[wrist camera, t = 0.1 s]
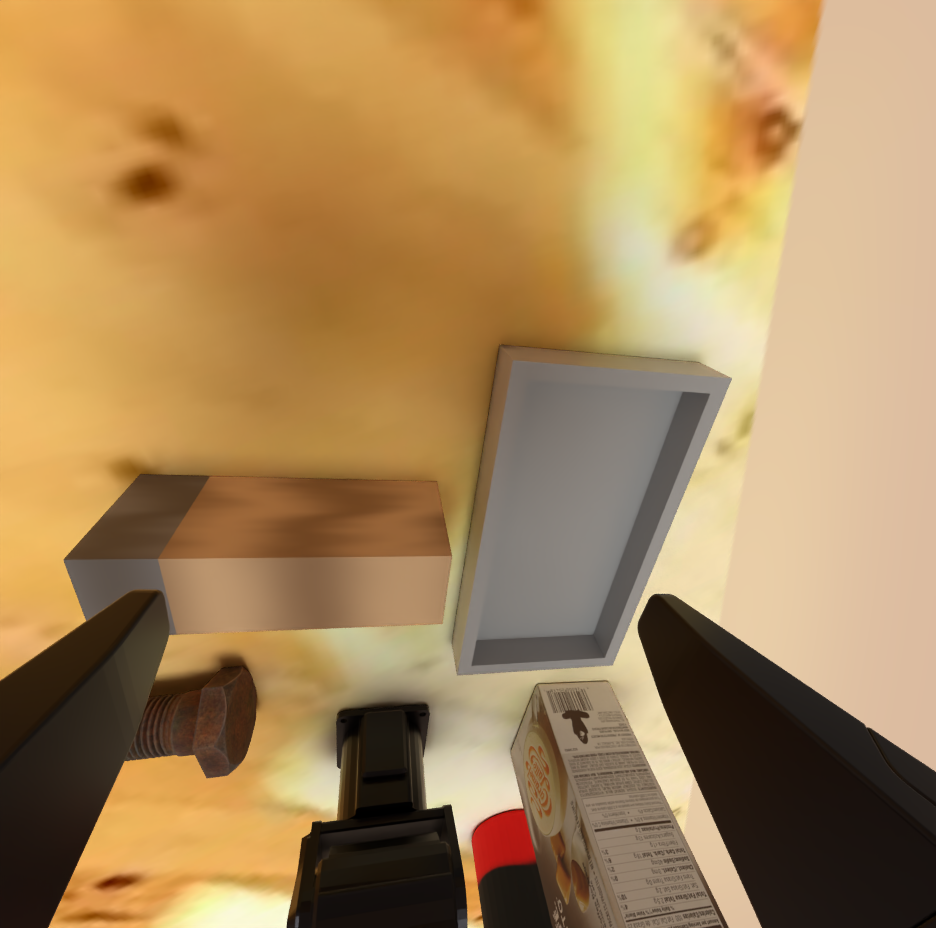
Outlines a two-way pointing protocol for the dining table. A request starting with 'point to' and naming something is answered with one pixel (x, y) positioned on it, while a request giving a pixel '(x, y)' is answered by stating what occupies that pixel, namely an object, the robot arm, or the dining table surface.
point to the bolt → (201, 723)
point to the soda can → (509, 874)
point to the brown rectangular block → (270, 552)
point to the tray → (575, 502)
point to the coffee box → (602, 818)
